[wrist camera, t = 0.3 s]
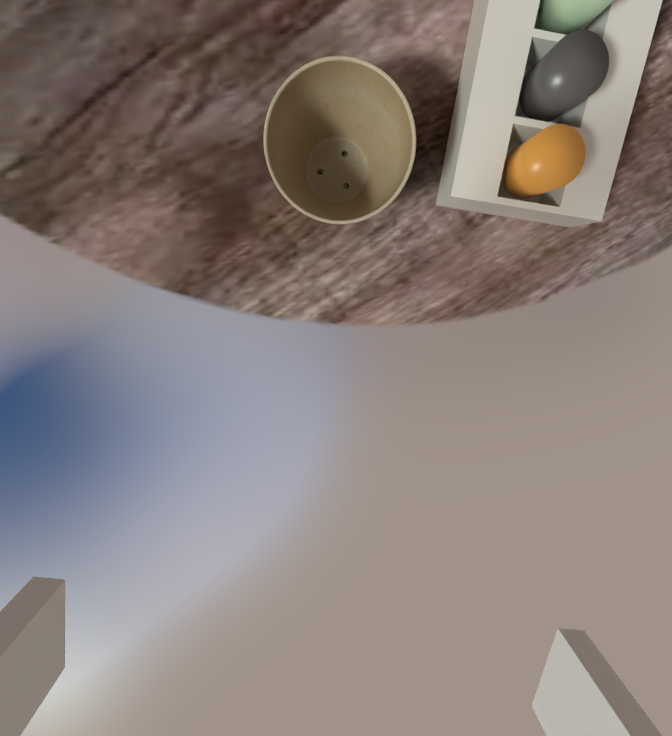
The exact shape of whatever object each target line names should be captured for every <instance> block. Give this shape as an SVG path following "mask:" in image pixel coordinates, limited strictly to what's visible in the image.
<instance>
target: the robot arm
mask: <svg viewBox="0 0 672 736" xmlns="http://www.w3.org/2000/svg"><path fill="white" fill-rule="evenodd" d="M64 667H65V580H61V579H52V578H41V577H33V578H32V579H31V580H30V581H29V582H28V583H27V584H26V585H25V586H24V587H23V589H21V591H20V592H19V593H18V594H17V595H16V596H15V597H14V598H13V599H12V600H11V601H10V602H9V603H8V604H7V605H6V606H5V607H4V608H3V609H2V610H1V612H0V736H20V735H21V734H22V732H23V730H24V729H25V727H26V726H27V724H28V723H29V721H30V720H31V718H32V717H33V715H34V714H35V712H36V711H37V709H38V707H39V706H40V704H41V703H42V701H43V700H44V698H45V697H46V695H47V694H48V692H49V691H50V689H51V688H52V686H53V684H54V683H55V681H56V680H57V678H58V677H59V675H60V674H61V672H62V671H63V669H64ZM532 707H533V709H534V711H535V713H536V715H537V717H538V719H539V721H540V723H541V725H542V727H543V729H544V731H545V733H546V736H662V735H661V734H660V732H659V731H658V730H657V728H656V727H655V726H654V724H653V723H652V722H651V720H650V719H649V717H648V716H647V715H646V713H645V712H644V711H643V709H642V708H641V707H640V705H639V704H638V703H637V701H636V700H635V699H634V697H633V696H632V695H631V693H630V692H629V691H628V689H627V688H626V687H625V685H624V684H623V683H622V681H621V680H620V679H619V677H618V676H617V675H616V673H615V672H614V670H613V669H612V668H611V666H610V665H609V664H608V662H607V661H606V660H605V658H604V657H603V656H602V654H601V653H600V652H599V650H598V649H597V648H596V646H595V645H594V644H593V642H592V641H591V640H590V638H589V637H588V635H587V634H586V633H585V631H581V630H570V629H560V628H558V630H557V633H556V636H555V639H554V642H553V645H552V648H551V651H550V654H549V657H548V660H547V663H546V666H545V669H544V672H543V675H542V678H541V681H540V684H539V687H538V690H537V693H536V696H535V699H534V701H533V704H532Z"/></svg>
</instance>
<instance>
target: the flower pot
mask: <svg viewBox="0 0 672 736" xmlns="http://www.w3.org/2000/svg"><path fill="white" fill-rule="evenodd" d="M343 151H344V155H343V156H342V152H343ZM264 152H265V158H266V162H267V166H268V169H269V172H270V174H271V176H272V179H273V181H274V183H275V184H276V186H277V188H278V189H279V191H280V192H281V193H282V195H283V196H284V197H285V198H286V200H287V201H288V202H289V203H291V204H292V205H293V206H294V207H295V208H296V209H298V210H299V211H300V212H302V213H303V214H305V215H307V216H309V217H311V218H313V219H315V220H318V221H321V222H325V223H330V224H351V223H356V222H360V221H363V220H366V219H368V218H370V217H372V216H374V215H376V214H378V213H379V212H381V211H382V210H384V209H385V208H386V207H387V206H388V205H390V204H391V203H392V202H393V200H394V199H395V198H396V197H397V196H398V195H399V193H400V192H401V191H402V189H403V187H404V186H405V184H406V182H407V180H408V178H409V175H410V173H411V170H412V167H413V163H414V159H415V153H416V128H415V122H414V118H413V114H412V111H411V108H410V106H409V103H408V101H407V99H406V97H405V95H404V94H403V92H402V91H401V89H400V88H399V86H398V85H397V84H396V83H395V81H394V80H393V79H392V78H391V77H390V76H389V75H388V74H386V73H385V72H384V71H383V70H381V69H380V68H379V67H377V66H375V65H373V64H371V63H369V62H367V61H365V60H362V59H359V58H355V57H349V56H330V57H324V58H320V59H316V60H314V61H311V62H309V63H307V64H305V65H304V66H302V67H300V68H299V69H298V70H296V71H295V72H294V73H293V74H291V75H290V76H289V77H288V78H287V79H286V80H285V82H284V83H283V84H282V85H281V87H280V88H279V89H278V91H277V92H276V94H275V96H274V98H273V100H272V102H271V104H270V107H269V110H268V113H267V116H266V121H265V126H264ZM320 172H321V173H322V174H319V173H320ZM346 184H348V185H349V187H347V185H346Z"/></svg>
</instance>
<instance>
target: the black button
mask: <svg viewBox="0 0 672 736" xmlns="http://www.w3.org/2000/svg"><path fill="white" fill-rule="evenodd" d="M608 68H609V53H608V49H607V47H606V44H605V43H604V41H603V40H602V38H601V37H600V36H599V35H597V34H596V33H594V32H592V31H589V30H576V31H573V32H571V33H569V34H567V35H566V36H564V37H563V38H562V39H561V40H560V41H559V42H558V43H557V44H556V45H555V46H554V47H553V48H552V49H551V50H550V51H549V52H548V53H547V54H546V55H545V56H544V57H543V58H541V59H540V60H539V61H538V62H537V63H536V64H535V65H534V66H533V67H532V68H531V69H530V70H529V71H528V72H527V74H526V75H525V76H524V78H523V81H522V85H521V90H520V95H519V102H520V105H521V108H522V110H523V112H524V113H525V115H526V116H527V117H528V118H530V119H534V120H540V121H545V122H549V121H552V120H554V119H556V118H557V117H559V116H560V115H562V114H563V113H565V112H566V111H568V110H569V109H571V108H572V107H574V106H575V105H577V104H578V103H580V102H581V101H583V100H584V99H586V98H587V97H589V96H590V95H592V94H593V93H594V92H596V91H597V90H598V89H599V87H600V86H601V85H602V83H603V82H604V80H605V78H606V75H607V72H608Z"/></svg>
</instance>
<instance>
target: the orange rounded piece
mask: <svg viewBox="0 0 672 736" xmlns="http://www.w3.org/2000/svg"><path fill="white" fill-rule="evenodd" d="M585 155H586V149H585V144H584V141H583V138H582V136H581V135H580V134H579V132H578V131H577V130H576V129H574V128H573V127H571V126H569V125H565V124H555V125H551V126H549V127H547V128H545V129H543V130H542V131H540V132H539V133H537V134H536V135H534V136H533V137H531V138H530V139H528V140H527V141H525V142H524V143H522V144H521V145H519V146H517V147H516V148H514V149H513V150H512V151H511V152H510V153H509V154H508V156H507V157H506V159H505V163H504V168H503V172H502V180H503V184H504V186H505V188H506V189H507V191H508V192H509V193H510V194H511V195H513V196H514V197H517V198H520V199H529V198H533V197H535V196H538V195H541V194H543V193H546V192H549V191H552V190H554V189H557V188H560V187H562V186H565V185H567V184H569V183H570V182H571V181H573V180H574V179H575V178H576V177H577V175H578V174H579V173H580V171H581V169H582V167H583V164H584V161H585Z"/></svg>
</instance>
